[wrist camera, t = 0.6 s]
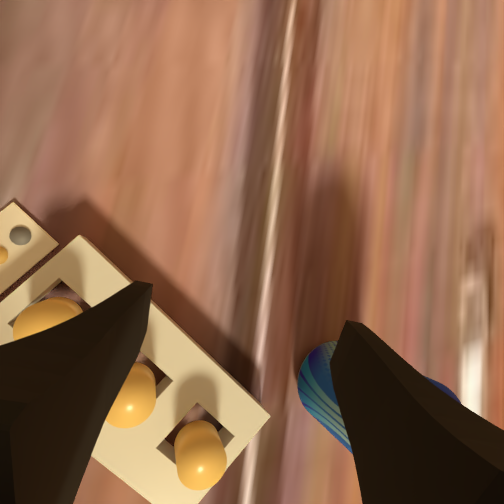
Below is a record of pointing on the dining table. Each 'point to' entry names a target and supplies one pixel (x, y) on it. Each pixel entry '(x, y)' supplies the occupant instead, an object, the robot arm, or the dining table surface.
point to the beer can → (329, 391)
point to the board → (167, 391)
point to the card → (20, 244)
